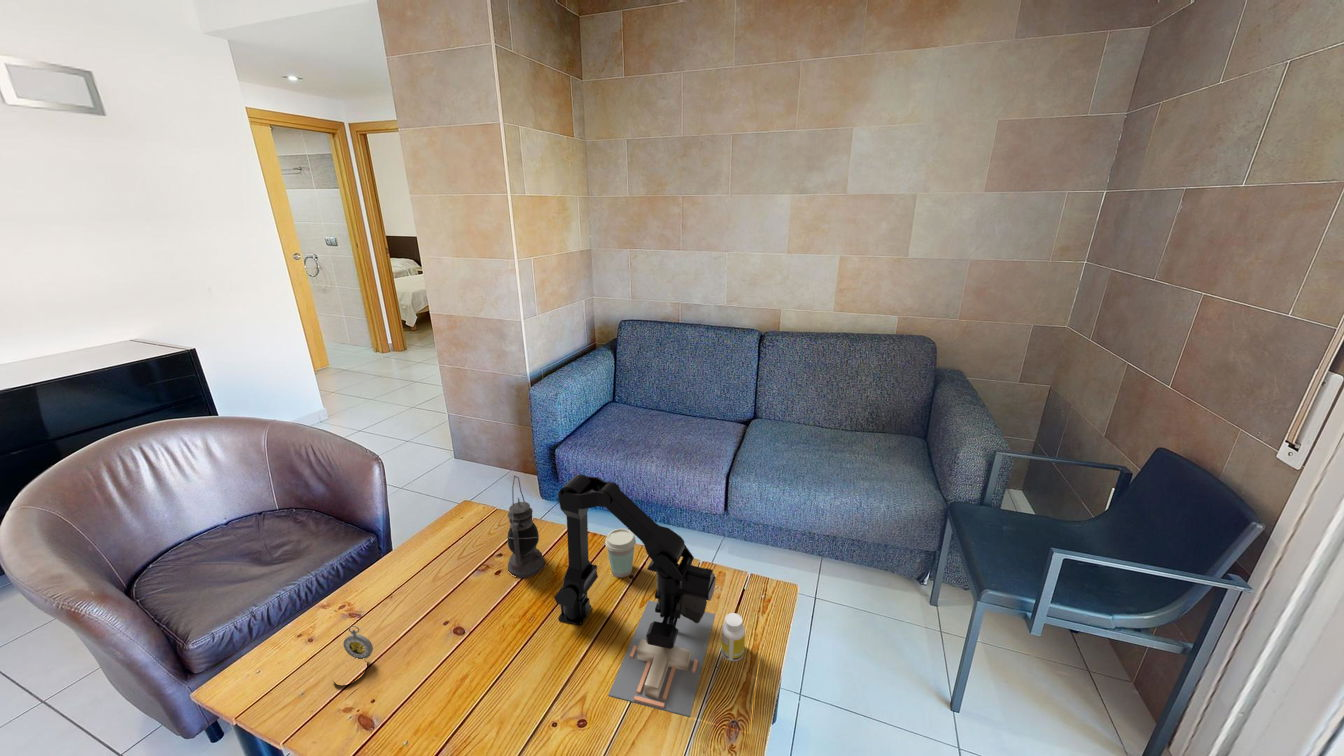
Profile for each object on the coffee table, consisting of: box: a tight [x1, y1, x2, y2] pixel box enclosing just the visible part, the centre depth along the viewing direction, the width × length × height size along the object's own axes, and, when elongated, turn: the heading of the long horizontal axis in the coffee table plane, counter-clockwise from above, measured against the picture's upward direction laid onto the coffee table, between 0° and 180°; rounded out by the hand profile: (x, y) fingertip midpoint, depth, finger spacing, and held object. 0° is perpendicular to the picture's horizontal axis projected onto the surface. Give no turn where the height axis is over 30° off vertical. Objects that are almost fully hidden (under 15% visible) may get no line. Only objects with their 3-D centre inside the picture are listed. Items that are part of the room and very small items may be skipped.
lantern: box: [506, 475, 546, 579], centre depth 140 cm, size 12×11×30 cm
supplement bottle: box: [720, 612, 746, 662], centre depth 114 cm, size 5×5×10 cm
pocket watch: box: [343, 625, 374, 659], centre depth 110 cm, size 8×8×10 cm
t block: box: [637, 639, 691, 698], centre depth 110 cm, size 12×11×3 cm
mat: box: [607, 599, 716, 719], centre depth 116 cm, size 18×28×1 cm, turn 165°
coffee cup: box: [604, 527, 636, 578], centre depth 140 cm, size 8×9×12 cm
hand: (670, 636), depth 119 cm, fingers open, 6 cm apart
